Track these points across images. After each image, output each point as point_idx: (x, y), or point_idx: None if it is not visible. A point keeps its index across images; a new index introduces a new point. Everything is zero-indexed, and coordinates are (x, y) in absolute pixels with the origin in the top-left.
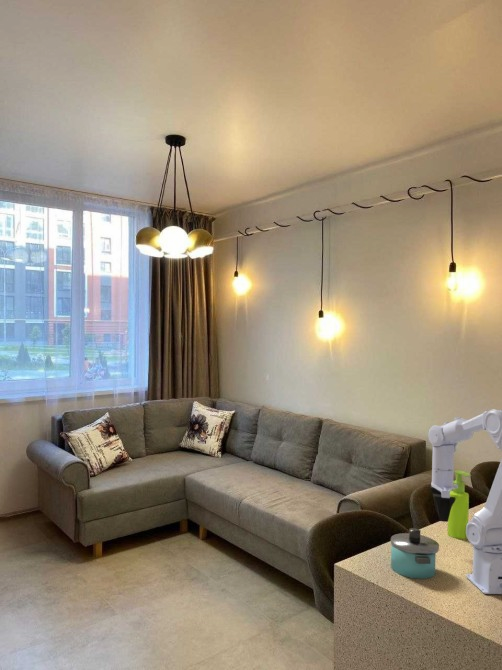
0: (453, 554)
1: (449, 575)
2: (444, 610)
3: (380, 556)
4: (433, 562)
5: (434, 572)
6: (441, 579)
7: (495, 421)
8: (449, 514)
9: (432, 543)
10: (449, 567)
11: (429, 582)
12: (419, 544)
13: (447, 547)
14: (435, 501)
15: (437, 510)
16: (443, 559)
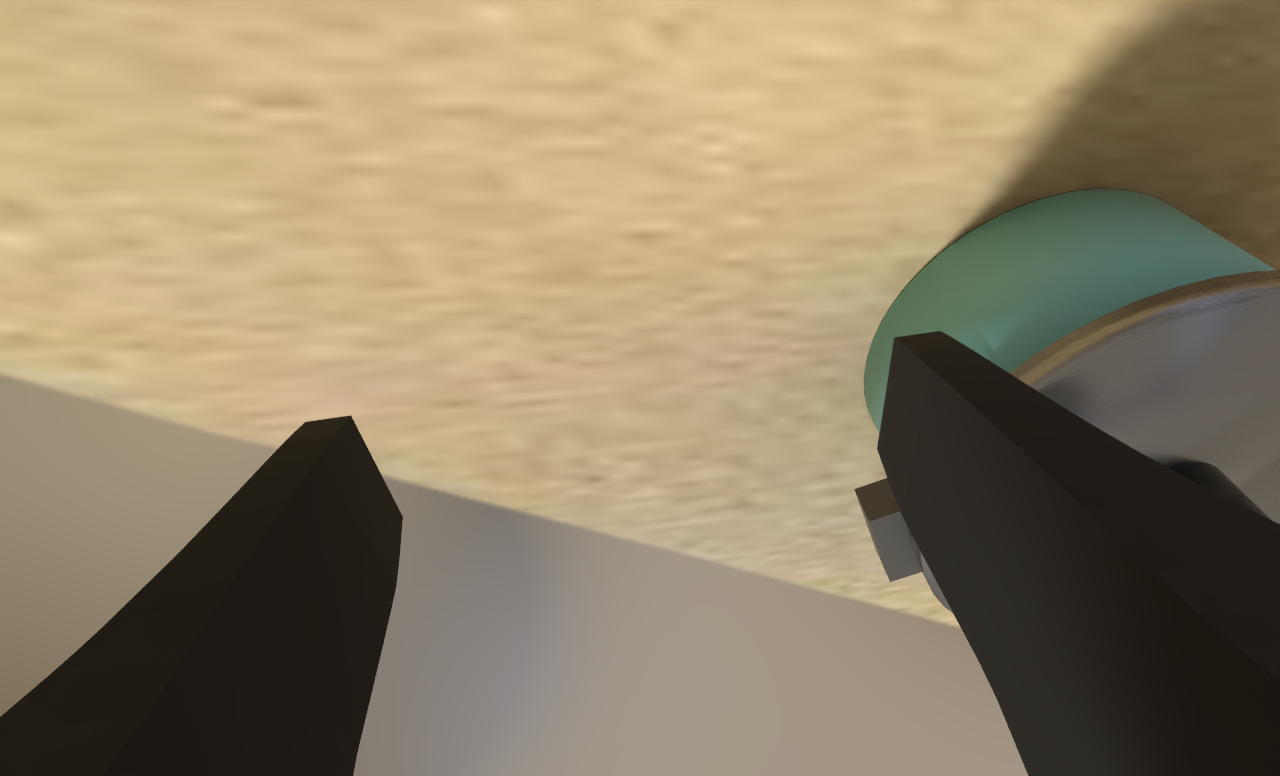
0: (535, 8)
1: (1145, 56)
2: None
3: (838, 526)
4: (1256, 259)
5: (1155, 202)
6: (1228, 130)
7: None
8: (1065, 411)
9: (1226, 362)
10: (946, 57)
11: (1273, 221)
12: (1244, 462)
13: (334, 85)
14: (350, 745)
15: (390, 539)
16: (743, 123)
